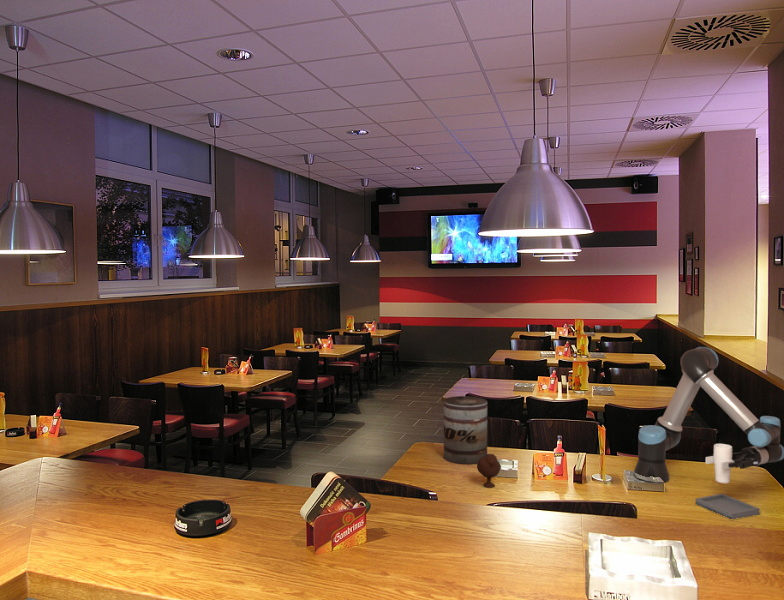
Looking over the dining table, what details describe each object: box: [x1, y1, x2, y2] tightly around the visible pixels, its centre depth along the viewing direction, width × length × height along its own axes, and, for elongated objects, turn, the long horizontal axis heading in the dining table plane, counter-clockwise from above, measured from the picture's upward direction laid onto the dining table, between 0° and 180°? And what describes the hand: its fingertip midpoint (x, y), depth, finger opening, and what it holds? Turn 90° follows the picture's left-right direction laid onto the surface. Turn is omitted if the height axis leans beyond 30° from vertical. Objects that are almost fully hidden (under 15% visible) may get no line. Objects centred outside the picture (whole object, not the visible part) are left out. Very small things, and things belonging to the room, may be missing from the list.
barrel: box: [443, 395, 488, 466], centre depth 313 cm, size 22×22×30 cm
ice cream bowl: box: [476, 453, 502, 489], centre depth 273 cm, size 11×11×15 cm
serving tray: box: [695, 493, 760, 520], centre depth 245 cm, size 17×15×2 cm
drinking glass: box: [713, 443, 733, 484], centre depth 248 cm, size 7×7×15 cm
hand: (714, 463), depth 246 cm, fingers closed on drinking glass, 6 cm apart
